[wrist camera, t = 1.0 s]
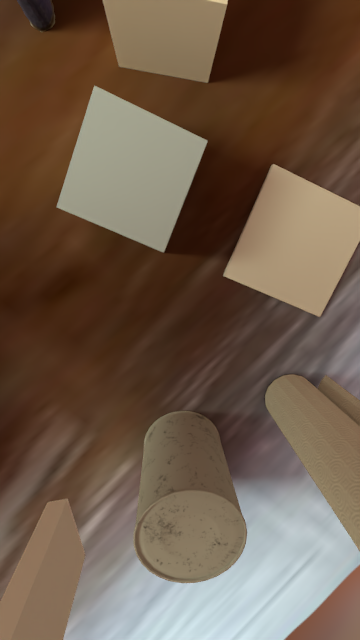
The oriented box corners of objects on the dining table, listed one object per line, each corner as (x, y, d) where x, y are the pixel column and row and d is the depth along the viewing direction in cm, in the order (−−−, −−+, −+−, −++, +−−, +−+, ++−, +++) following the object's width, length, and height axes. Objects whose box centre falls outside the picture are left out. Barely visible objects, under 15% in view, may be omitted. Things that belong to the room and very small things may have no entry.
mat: (222, 275, 32) (223, 276, 31) (271, 165, 30) (273, 163, 29) (317, 315, 34) (319, 317, 33) (370, 214, 31) (374, 213, 31)
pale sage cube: (88, 220, 30) (56, 207, 21) (116, 137, 28) (94, 85, 20) (164, 252, 31) (163, 252, 22) (195, 174, 30) (207, 140, 21)
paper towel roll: (260, 417, 36) (390, 641, 15) (267, 371, 35) (418, 548, 14) (317, 419, 37) (518, 640, 16) (325, 374, 35) (557, 549, 14)
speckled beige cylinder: (197, 396, 35) (213, 471, 23) (233, 455, 37) (266, 552, 25) (129, 434, 36) (110, 525, 24) (168, 490, 38) (170, 599, 26)
